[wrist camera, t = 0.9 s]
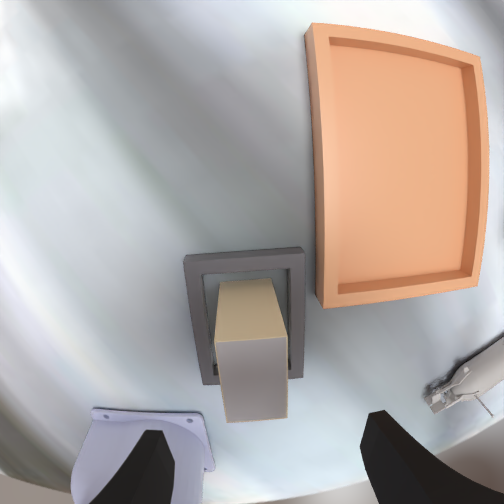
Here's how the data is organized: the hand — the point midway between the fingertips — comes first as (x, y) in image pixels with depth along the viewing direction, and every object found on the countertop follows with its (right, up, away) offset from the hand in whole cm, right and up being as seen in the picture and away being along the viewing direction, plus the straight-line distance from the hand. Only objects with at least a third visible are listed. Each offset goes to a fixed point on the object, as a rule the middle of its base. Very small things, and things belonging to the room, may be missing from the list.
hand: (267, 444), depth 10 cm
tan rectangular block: (-1, +3, +10) cm, 10 cm away
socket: (-1, +3, +10) cm, 10 cm away
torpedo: (+23, -2, +13) cm, 26 cm away
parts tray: (+9, +12, +8) cm, 17 cm away
